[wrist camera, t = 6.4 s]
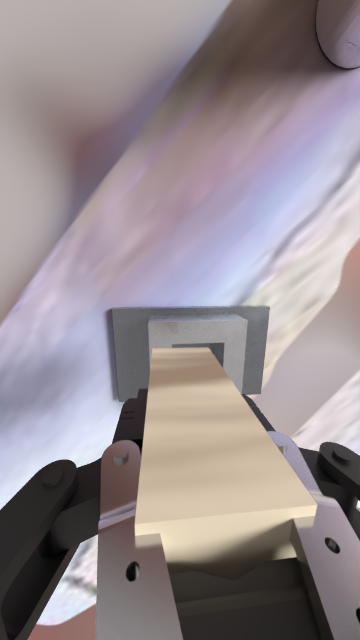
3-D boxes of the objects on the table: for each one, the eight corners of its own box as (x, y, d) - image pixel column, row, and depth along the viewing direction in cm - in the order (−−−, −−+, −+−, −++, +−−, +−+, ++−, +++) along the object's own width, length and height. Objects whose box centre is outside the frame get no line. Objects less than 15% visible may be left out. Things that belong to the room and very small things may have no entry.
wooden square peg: (152, 348, 14) (134, 524, 4) (208, 347, 14) (317, 504, 4) (152, 399, 15) (139, 646, 5) (205, 397, 15) (291, 621, 5)
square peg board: (113, 307, 27) (103, 314, 22) (266, 305, 29) (287, 311, 24) (120, 397, 30) (112, 421, 25) (257, 390, 32) (275, 410, 27)
